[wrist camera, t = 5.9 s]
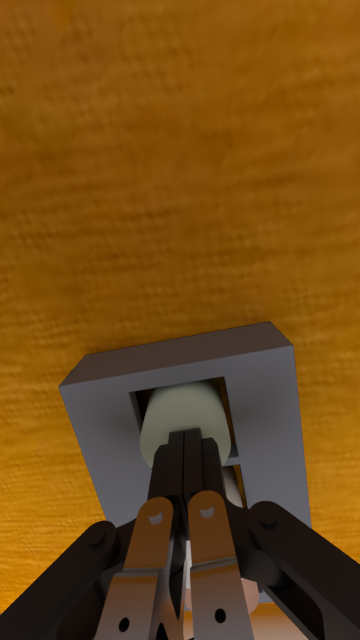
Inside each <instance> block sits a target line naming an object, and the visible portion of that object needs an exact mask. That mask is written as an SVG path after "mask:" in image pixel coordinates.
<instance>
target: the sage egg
mask: <svg viewBox="0 0 360 640" xmlns="http://www.w3.org/2000/svg"><path fill="white" fill-rule="evenodd" d="M193 428H200V429H201V434H202V438H210V437H212V438H213V439H214V440H215V442H216V443H217V444H218V449H219V454H220V459H221V464H222V466H223V465H224V463H225V462H226V460H227V458H228V456H229V453H230V449H231V440H230V435H229V430H228V425H227V420H226V415H225V411H224V406H223V401H222V396H221V391H220V387H219V383H218V380H217V378H216V377H215V378H210V379H204V380H198V381H192V382H186V383H180V384H174V385H168V386H162V387H157V388H152V389H151V394H150V398H149V402H148V406H147V410H146V414H145V419H144V423H143V427H142V431H141V435H140V450H141V454H142V456H143V458H144V460H145V462H146V463H147V464H148V466H149V467H150V468H151V469H152V466H153V460H154V454H155V452H156V451H157V449H158V447H159V446H160V445H164V444H168V439H169V432H174V431H181V430H187V429H193Z"/></svg>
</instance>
